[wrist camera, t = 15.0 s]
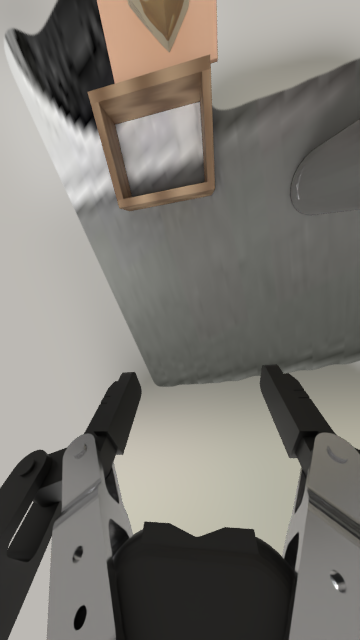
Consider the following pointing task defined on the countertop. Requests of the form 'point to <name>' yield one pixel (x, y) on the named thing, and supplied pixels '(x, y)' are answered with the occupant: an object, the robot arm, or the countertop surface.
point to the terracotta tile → (144, 49)
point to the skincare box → (161, 18)
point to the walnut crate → (147, 99)
